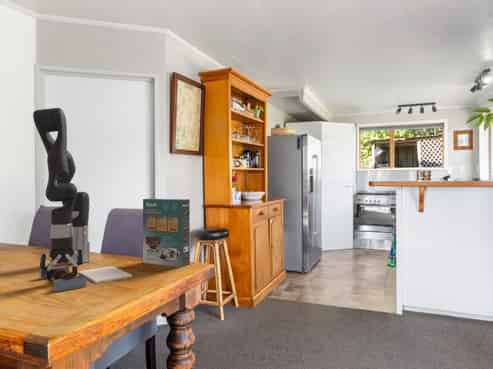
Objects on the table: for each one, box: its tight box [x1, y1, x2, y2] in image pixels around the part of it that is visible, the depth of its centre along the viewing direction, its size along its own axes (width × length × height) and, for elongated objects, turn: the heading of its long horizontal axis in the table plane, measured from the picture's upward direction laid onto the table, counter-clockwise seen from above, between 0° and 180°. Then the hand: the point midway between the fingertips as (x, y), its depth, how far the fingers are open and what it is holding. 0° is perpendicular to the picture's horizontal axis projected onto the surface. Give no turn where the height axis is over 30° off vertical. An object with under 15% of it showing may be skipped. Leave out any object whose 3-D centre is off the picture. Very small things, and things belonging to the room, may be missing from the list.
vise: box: [38, 265, 87, 293], centre depth 137 cm, size 10×30×4 cm, turn 42°
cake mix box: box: [142, 198, 191, 268], centre depth 166 cm, size 22×6×30 cm, turn 66°
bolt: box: [53, 269, 75, 280], centre depth 134 cm, size 6×5×15 cm
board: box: [78, 265, 133, 284], centre depth 145 cm, size 14×20×1 cm
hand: (61, 278), depth 135 cm, fingers open, 8 cm apart
